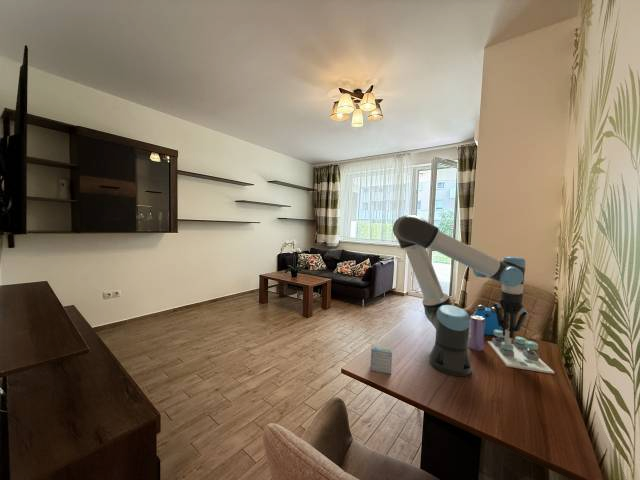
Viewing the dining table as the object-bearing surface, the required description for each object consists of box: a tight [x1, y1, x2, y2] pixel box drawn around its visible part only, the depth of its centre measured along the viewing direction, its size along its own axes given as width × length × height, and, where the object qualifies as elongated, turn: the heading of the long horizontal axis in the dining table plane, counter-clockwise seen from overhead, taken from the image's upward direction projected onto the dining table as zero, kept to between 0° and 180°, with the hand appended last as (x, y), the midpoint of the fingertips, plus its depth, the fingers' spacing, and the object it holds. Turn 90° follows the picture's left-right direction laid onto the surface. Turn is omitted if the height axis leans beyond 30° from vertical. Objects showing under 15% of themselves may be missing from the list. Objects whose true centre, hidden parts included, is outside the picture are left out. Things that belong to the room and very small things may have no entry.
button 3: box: [494, 330, 505, 340], centre depth 121 cm, size 4×4×4 cm
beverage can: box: [467, 314, 485, 352], centre depth 118 cm, size 6×6×15 cm
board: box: [487, 337, 555, 375], centre depth 112 cm, size 16×22×3 cm
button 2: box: [525, 340, 539, 353], centre depth 110 cm, size 4×4×4 cm
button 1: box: [501, 342, 513, 351], centre depth 112 cm, size 4×4×4 cm
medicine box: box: [369, 344, 393, 375], centre depth 99 cm, size 8×4×9 cm, turn 74°
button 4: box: [514, 335, 528, 345], centre depth 119 cm, size 4×4×4 cm
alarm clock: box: [473, 304, 502, 336], centre depth 135 cm, size 13×6×15 cm, turn 53°
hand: (507, 343), depth 112 cm, fingers closed
